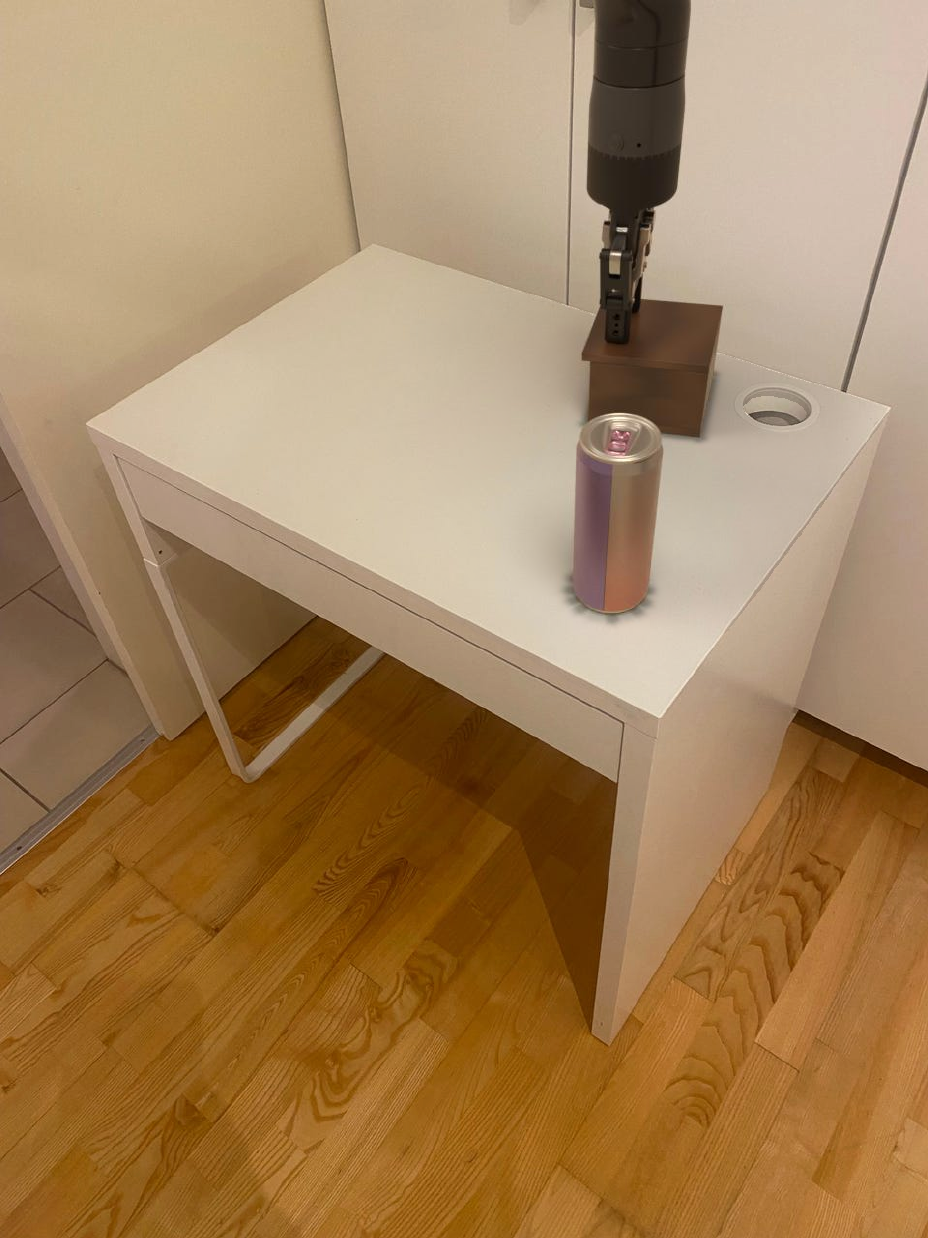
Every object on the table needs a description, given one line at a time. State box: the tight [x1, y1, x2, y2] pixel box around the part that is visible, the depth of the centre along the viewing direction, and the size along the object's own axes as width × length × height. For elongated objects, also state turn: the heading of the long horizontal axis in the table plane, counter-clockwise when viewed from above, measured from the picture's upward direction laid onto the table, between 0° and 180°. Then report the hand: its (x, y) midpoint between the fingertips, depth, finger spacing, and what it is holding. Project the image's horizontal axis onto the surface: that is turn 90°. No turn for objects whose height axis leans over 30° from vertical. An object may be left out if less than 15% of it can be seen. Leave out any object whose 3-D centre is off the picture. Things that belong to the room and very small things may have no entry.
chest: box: [587, 315, 723, 438], centre depth 91 cm, size 11×11×7 cm
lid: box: [580, 279, 724, 373], centre depth 87 cm, size 11×11×5 cm
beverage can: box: [572, 413, 664, 614], centre depth 71 cm, size 6×6×15 cm
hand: (622, 324), depth 89 cm, fingers closed on lid, 5 cm apart
